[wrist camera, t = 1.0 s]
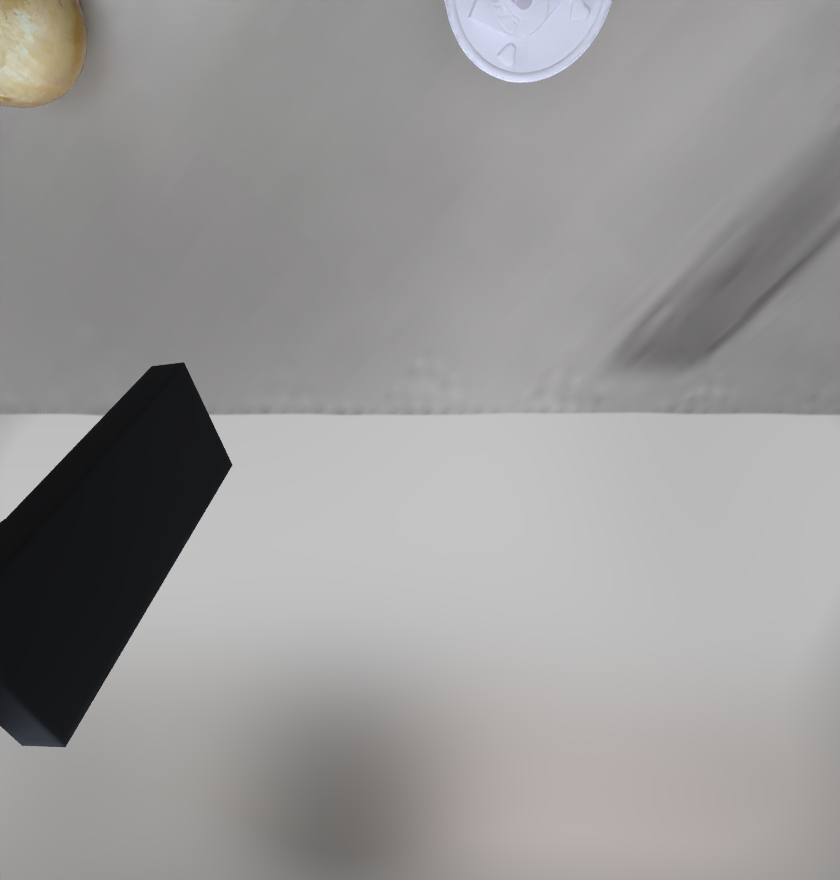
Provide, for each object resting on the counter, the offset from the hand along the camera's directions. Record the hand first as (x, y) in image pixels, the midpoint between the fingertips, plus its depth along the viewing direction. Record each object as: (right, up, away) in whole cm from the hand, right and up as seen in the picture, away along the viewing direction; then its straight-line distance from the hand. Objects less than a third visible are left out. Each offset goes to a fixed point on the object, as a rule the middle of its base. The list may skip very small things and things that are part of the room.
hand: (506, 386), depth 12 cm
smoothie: (+3, +22, +18) cm, 29 cm away
